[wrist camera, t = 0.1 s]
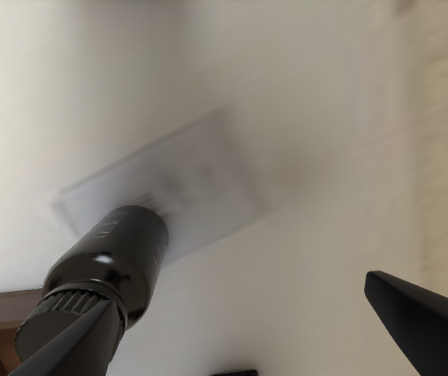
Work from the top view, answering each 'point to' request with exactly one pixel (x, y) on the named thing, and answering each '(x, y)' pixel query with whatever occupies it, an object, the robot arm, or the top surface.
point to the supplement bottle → (99, 277)
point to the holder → (14, 324)
